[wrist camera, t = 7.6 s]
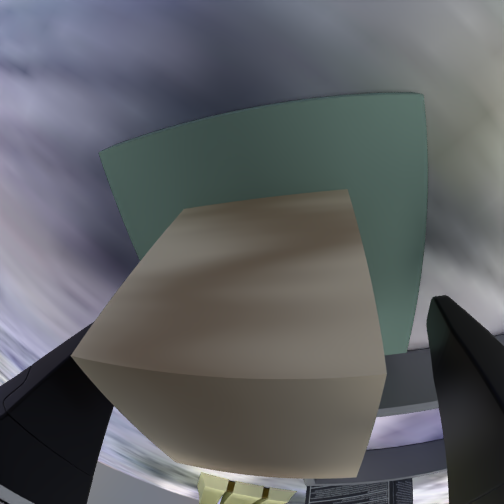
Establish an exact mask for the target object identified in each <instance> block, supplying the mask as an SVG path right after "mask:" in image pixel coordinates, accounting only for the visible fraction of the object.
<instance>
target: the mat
mask: <svg viewBox="0 0 504 504" xmlns="http://www.w3.org/2000/svg"><path fill="white" fill-rule="evenodd" d="M99 156H100V159H101V162H102V165H103V168H104V171H105V174H106V176H107V179H108V182H109V185H110V188H111V190H112V193H113V196H114V199H115V201H116V204H117V206H118V209H119V212H120V214H121V217H122V219H123V222H124V224H125V227H126V229H127V232H128V234H129V237H130V239H131V241H132V244H133V246H134V248H135V251H136V253H137V255H138V258H139V260H140V261H141V260H142V258H143V257H144V256H145V255H146V253H147V252H148V251H149V250H150V249H151V247H152V246H153V245H154V244H155V242H156V241H157V240H158V239H159V238H160V236H161V235H162V234H163V233H164V232H165V230H166V229H167V228H168V227H169V226H170V225H171V223H172V222H173V221H174V220H175V219H176V218H177V216H178V215H179V214H180V213H181V212H182V211H183V209H187V208H193V207H200V206H206V205H213V204H220V203H228V202H235V201H242V200H250V199H258V198H266V197H275V196H283V195H292V194H301V193H311V192H321V191H332V190H343V189H348V192H349V196H350V199H351V203H352V206H353V210H354V213H355V217H356V221H357V224H358V228H359V232H360V236H361V240H362V244H363V248H364V252H365V256H366V260H367V265H368V269H369V273H370V278H371V283H372V287H373V292H374V297H375V302H376V308H377V313H378V319H379V324H380V330H381V336H382V342H383V349H384V355H392V354H401V353H406V352H407V348H408V344H409V340H410V335H411V330H412V326H413V321H414V315H415V310H416V304H417V299H418V292H419V286H420V279H421V272H422V264H423V255H424V245H425V233H426V219H427V197H428V150H427V129H426V115H425V104H424V95H423V94H418V93H413V92H394V93H367V94H351V95H338V96H328V97H318V98H310V99H302V100H294V101H287V102H281V103H275V104H269V105H263V106H257V107H252V108H247V109H242V110H237V111H232V112H227V113H223V114H218V115H214V116H210V117H206V118H202V119H198V120H194V121H190V122H186V123H182V124H179V125H175V126H172V127H168V128H165V129H161V130H158V131H155V132H151V133H148V134H145V135H142V136H139V137H136V138H133V139H130V140H127V141H124V142H121V143H118V144H116V145H113V146H111V147H109V148H107V149H105V150H103V151H101V152H99Z"/></svg>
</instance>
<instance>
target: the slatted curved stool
mask: <svg viewBox="0 0 504 504" xmlns="http://www.w3.org/2000/svg"><path fill="white" fill-rule="evenodd" d="M197 488H198V492H199V504H217V503H218V501H219V499H220V498H221V496H222V495H223V497H222V499H221V502H220V504H284V503H287V502H289V500H290V498H291V497H292V496H293V495H294V494H295V493H296V492H297V491H291V490H284V489H277V488H269V489H267V488H264V486H258V485H253V484H248V483H243V482H238V481H236V482H231V481H229V479H225V478H220V477H216V476H213V475H209V474H205V473H202V472H201V474H200V478H199V481H198V484H197Z"/></svg>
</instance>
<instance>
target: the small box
mask: <svg viewBox="0 0 504 504" xmlns="http://www.w3.org/2000/svg"><path fill="white" fill-rule="evenodd" d="M305 504H413V487H412V478H408V479H402V480H395V481H387V482H379V483H369V484H357V485H338V486H307V491H306V500H305Z"/></svg>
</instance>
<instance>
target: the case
mask: <svg viewBox="0 0 504 504" xmlns="http://www.w3.org/2000/svg"><path fill="white" fill-rule="evenodd" d="M494 337H495V338H496V339H498V340H499V341H500V342H501V343H502V344H503V345H504V334H502V335H498V336H494ZM384 356H385V363H386V371H387V376H386V380H385V384H384V389H383V393H382V397H381V401H380V405H379V408H378V412H377V416H376V417H383V416H391V415H399V414H407V413H413V412H420V411H426V410H431V409H437V408H439V405H438V400H437V394H436V389H435V384H434V379H433V372H432V363H431V355H430V348H429V349H422V350H414V351H407V352H406V353H401V354H392V355H384ZM443 471H447V462H446V452H445V444H444V439H441V440H436V441H431V442H426V443H421V444H415V445H409V446H402V447H395V448H387V449H378V450H368V451H366V452H365V455H364V458H363V460H362V463H361V466H360V469H359V472H358V474H357V477H353V478H331V479H304V482H305V485H306V486H338V485H357V484H369V483H379V482H387V481H395V480H402V479H408V478H414V477H419V476H424V475H429V474H434V473H438V472H443Z"/></svg>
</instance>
